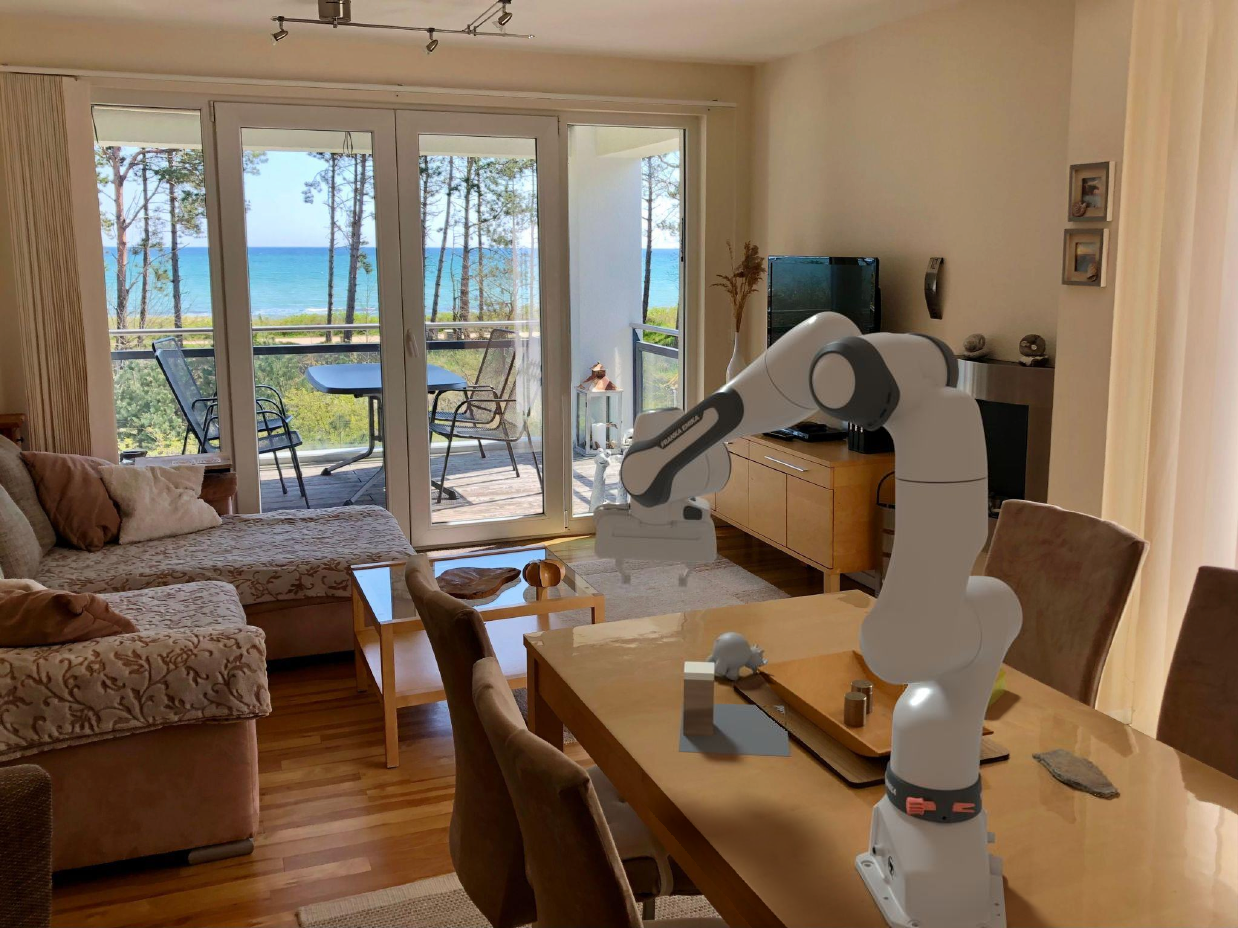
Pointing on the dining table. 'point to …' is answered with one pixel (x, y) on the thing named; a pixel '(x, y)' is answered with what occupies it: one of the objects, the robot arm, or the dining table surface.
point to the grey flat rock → (1076, 772)
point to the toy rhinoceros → (735, 655)
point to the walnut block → (698, 698)
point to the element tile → (998, 687)
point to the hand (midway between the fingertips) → (654, 584)
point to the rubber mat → (739, 733)
